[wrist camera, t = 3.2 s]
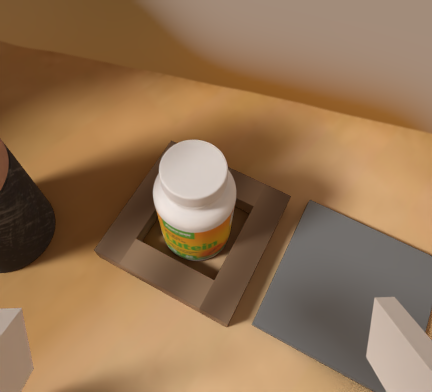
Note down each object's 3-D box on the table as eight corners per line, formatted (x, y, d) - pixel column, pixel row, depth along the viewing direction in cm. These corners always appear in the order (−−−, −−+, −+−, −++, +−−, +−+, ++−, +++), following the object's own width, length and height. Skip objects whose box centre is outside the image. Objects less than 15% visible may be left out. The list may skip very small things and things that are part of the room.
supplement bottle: (159, 261, 29) (140, 208, 20) (166, 198, 31) (150, 127, 23) (230, 263, 29) (240, 212, 20) (230, 200, 31) (240, 130, 23)
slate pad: (251, 324, 27) (252, 323, 26) (308, 202, 31) (309, 199, 31) (401, 406, 25) (405, 407, 24) (439, 263, 29) (443, 261, 29)
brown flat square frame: (99, 256, 29) (93, 250, 28) (172, 151, 33) (171, 140, 32) (226, 327, 27) (227, 324, 25) (286, 204, 31) (290, 196, 30)
